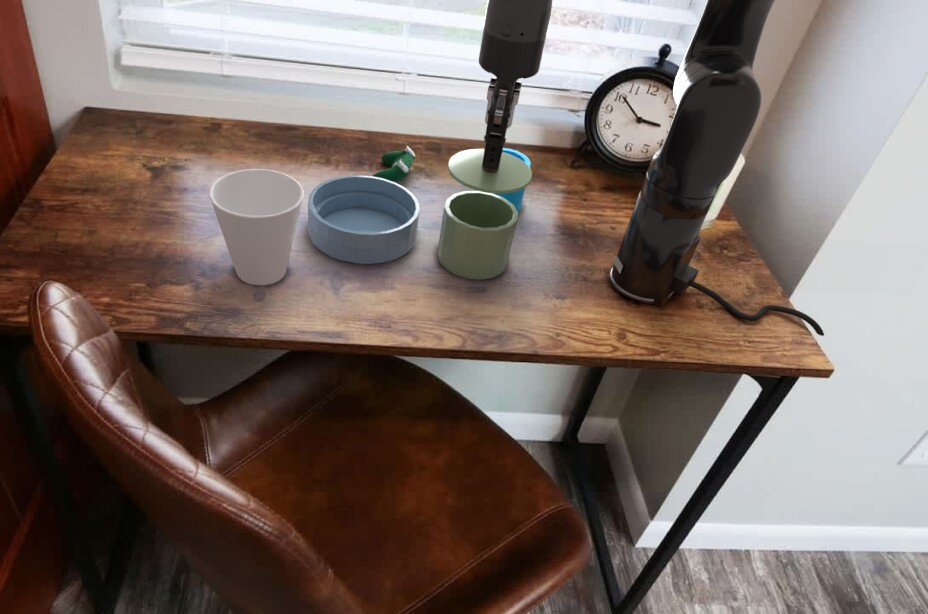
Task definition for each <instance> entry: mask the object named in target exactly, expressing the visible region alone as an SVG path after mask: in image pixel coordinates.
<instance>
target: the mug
mask: <svg viewBox="0 0 928 614" xmlns="http://www.w3.org/2000/svg"><path fill="white" fill-rule="evenodd" d="M503 152H505V153H508V154H511V155H513V156H515V157H517V158H519V159H521V160H522V161H523V162H525V163H526V164H527V165H528V166H529V168H530V169H531V160H530V158H529V157H528V156H527V155H525V154H524V153H522V152H520V151H518V150H516V149H513V148H508V147H503ZM473 191H477V190H474V189H473ZM525 191H526V187H525V188H524V189H522V190H519V191H516V192H512V193H503V194H496V193H493V194H495V195H498V196H500V197H503V198H505V199H506V200H507V201H509V202H510V203H511V204H513V205H514V206H515V208H516V210H517V212H518V213H519V212H520V211H521V207H522V204H523V199H524V195H525Z"/></svg>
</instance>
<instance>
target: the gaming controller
mask: <svg viewBox="0 0 928 614" xmlns="http://www.w3.org/2000/svg"><path fill="white" fill-rule="evenodd" d="M415 159H416V154H415V152H414V151H413V150H412V148H410V147H409V146H408V145H406V147H405V148H404V149H403V150H397V151H396V150H395V151H388V152H386V153H384V154H382V156H381V161H382V164H385V165H386V166H391V167H389V168H387V169H382V170H380V171H379V170H378V171H377V172H375V173H373V174H372V176H373V177H378V178H383V179H386V180H389V181H392V182H395V183H397V182H400V181H403V180H404V178H406V177H407V175H408V174H409V172H410V170H411V168H412V165H413V163H414V161H415Z"/></svg>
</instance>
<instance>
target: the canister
mask: <svg viewBox="0 0 928 614" xmlns="http://www.w3.org/2000/svg"><path fill="white" fill-rule="evenodd" d="M518 217H519V212H517V210H516V208H515V206H514V205H513V204H511V203H510V202H509V201H507V200H506V199H505V198H503V197H500V196H498V195H495V194H493V193H487V192H481V191H474V190H463V191H460V192H456V193H453V194H452V195H450V196H449V197H447V198H446V199H445V203H444V206H443V212H442V218H441V219H442V220H441V227H440V232H439V239H438V244H437V253H436V254H437V259H438V261H439V264H440V265H441V266H442V267H443V268H444V269H445V270H446V271H448V272H450V273H451V274H453V275H455V276H458V277H461V278H465V279H469V280H481V281H482V280H489V279H493V278H496V277H498V276H499V275H501V274H502V273H504V271H505V270H506V269H507V266H508V261H509V258H510V253H511V249H512V244H513V240H514V236H515V232H516V229H517V228H516V227H517V223H518Z"/></svg>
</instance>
